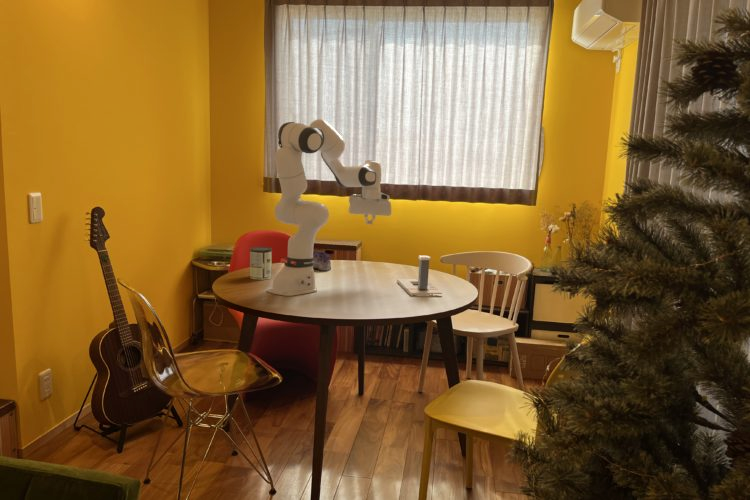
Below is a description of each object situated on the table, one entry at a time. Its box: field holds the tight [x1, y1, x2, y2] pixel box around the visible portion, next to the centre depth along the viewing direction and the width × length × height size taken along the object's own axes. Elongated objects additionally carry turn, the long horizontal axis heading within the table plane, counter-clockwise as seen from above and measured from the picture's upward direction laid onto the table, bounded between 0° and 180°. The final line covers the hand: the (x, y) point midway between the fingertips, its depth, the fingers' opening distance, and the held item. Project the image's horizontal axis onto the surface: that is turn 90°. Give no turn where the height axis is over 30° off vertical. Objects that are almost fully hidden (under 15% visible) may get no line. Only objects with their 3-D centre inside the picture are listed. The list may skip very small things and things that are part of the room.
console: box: [396, 278, 443, 296], centre depth 259 cm, size 28×14×2 cm, turn 10°
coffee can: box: [249, 246, 273, 281], centre depth 266 cm, size 10×10×14 cm
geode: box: [313, 250, 332, 273], centre depth 298 cm, size 20×12×10 cm, turn 27°
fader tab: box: [417, 255, 432, 291], centre depth 251 cm, size 4×4×16 cm
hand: (369, 224), depth 268 cm, fingers closed
